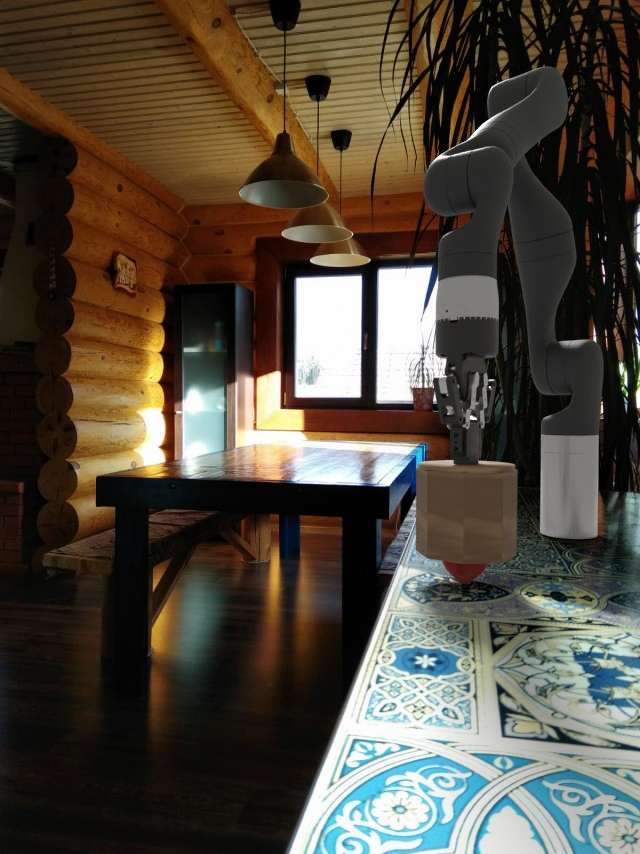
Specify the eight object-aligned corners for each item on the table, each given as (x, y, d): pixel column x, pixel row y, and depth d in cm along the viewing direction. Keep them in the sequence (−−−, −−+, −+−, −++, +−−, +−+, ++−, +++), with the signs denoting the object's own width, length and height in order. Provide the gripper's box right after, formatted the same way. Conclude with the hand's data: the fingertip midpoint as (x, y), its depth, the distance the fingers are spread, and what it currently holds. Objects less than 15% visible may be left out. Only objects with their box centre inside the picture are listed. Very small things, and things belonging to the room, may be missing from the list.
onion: (490, 592, 77) (491, 524, 76) (441, 589, 78) (441, 523, 77) (487, 579, 82) (488, 516, 82) (441, 577, 83) (442, 515, 83)
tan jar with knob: (443, 539, 88) (444, 422, 88) (528, 550, 81) (529, 423, 81) (400, 554, 79) (401, 423, 78) (492, 569, 72) (493, 424, 71)
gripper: (462, 326, 87) (461, 455, 87) (411, 314, 76) (410, 461, 76) (517, 322, 82) (516, 457, 83) (472, 308, 71) (470, 465, 72)
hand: (465, 458), depth 80 cm, fingers closed on tan jar with knob, 3 cm apart
